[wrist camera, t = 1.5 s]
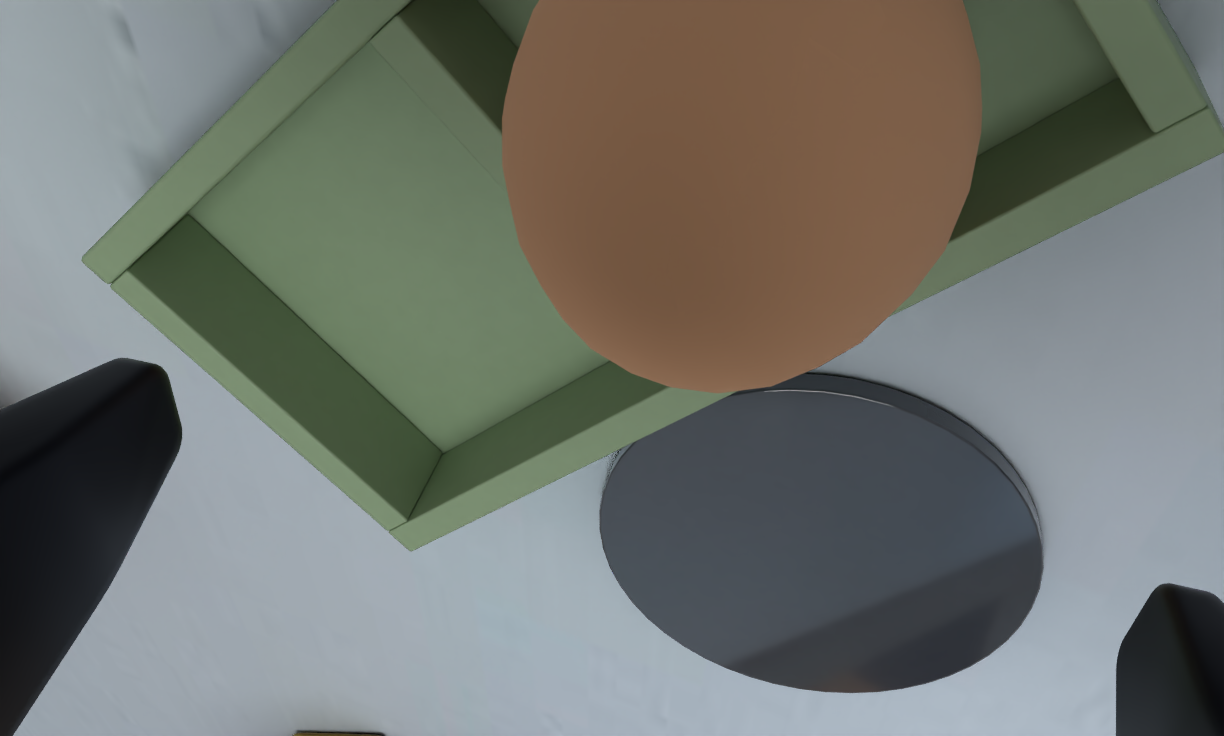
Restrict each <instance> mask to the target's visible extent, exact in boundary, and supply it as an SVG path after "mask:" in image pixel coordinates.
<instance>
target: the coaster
mask: <svg viewBox="0 0 1224 736" xmlns="http://www.w3.org/2000/svg"><path fill="white" fill-rule="evenodd" d="M599 515H600V534H601V539H602V545H603V550H604V552H605V555H606V558H607V561H608V563H609V566H610V568H611V570H612V572H613V574H614V576H615V577H616V579H617V581H618V583H619V585H620V586H621V588H622V589H623V590H624V592H625V593H626V594H627V596H628V597H629V599H630V600H631V601H632V603H633V604H634V605H635V606H636V607H637V608H638V609H639V610H640V611H641V612H642V613H643V614H644V615H645V616H646V617H647V618H648V619H649V620H650V621H651V622H652V623H653V624H655V625H656V626H657V627H658V628H659V629H660V630H662V631H663V632H664V633H665V634H667V635H668V636H670V637H671V638H672V639H674V640H675V641H677V642H678V643H680V644H681V645H682V646H684V647H686V648H688V649H689V650H691V651H693V652H695V653H696V654H698V655H700V656H702V657H703V658H705V659H707V660H710V661H712V662H714V663H716V664H718V665H720V666H723V667H725V668H727V669H730V670H732V671H735V672H738V673H741V674H743V675H746V676H749V677H752V678H755V679H759V680H762V681H766V682H770V683H773V684H778V685H783V686H788V687H793V688H798V689H805V690H813V691H821V692H837V693H866V692H881V691H889V690H897V689H904V688H908V687H913V686H918V685H922V684H926V683H930V682H933V681H936V680H939V679H942V678H945V677H948V676H951V675H953V674H955V673H957V672H959V671H962V670H964V669H966V668H968V667H971V666H972V665H974V664H975V663H977V662H979V661H980V660H982V659H984V658H985V657H987V656H989V655H990V654H991V653H993V652H994V651H995V650H996V649H998V648H999V647H1000V646H1001V645H1003V644H1004V643H1005V642H1006V641H1007V640H1008V639H1009V638H1010V637H1011V636H1012V635H1013V634H1014V633H1015V631H1016V630H1017V629H1018V628H1019V627H1020V626H1021V625H1022V623H1023V621H1024V620H1025V618H1026V617H1027V615H1028V614H1029V612H1030V610H1031V609H1032V607H1033V605H1034V602H1035V599H1036V597H1037V594H1038V592H1039V589H1040V585H1041V579H1042V574H1043V568H1044V567H1043V544H1042V534H1041V528H1040V524H1039V520H1038V515H1037V511H1036V508H1035V506H1034V504H1033V501H1032V499H1031V497H1030V495H1029V492H1028V490H1027V488H1026V486H1025V485H1024V483H1023V482H1022V480H1021V479H1020V477H1019V476H1018V474H1017V473H1016V471H1015V470H1014V468H1013V467H1012V466H1011V465H1010V464H1009V463H1008V461H1007V460H1006V459H1005V458H1004V457H1003V456H1002V455H1001V454H1000V453H999V452H998V450H997V449H996V448H995V447H994V446H993V445H991V444H990V443H989V442H988V441H987V440H986V439H984V438H983V437H982V436H981V435H980V434H978V433H977V432H976V431H975V430H974V429H972V428H971V427H969V426H968V425H966V424H965V423H963V422H962V421H960V420H958V419H957V418H955V417H954V416H952V415H951V414H949V413H948V412H946V411H944V410H942V409H940V408H938V407H935V406H933V405H931V404H929V403H927V402H925V401H923V400H921V399H919V398H917V397H914V396H911V395H908V394H906V393H903V392H900V391H897V390H895V389H892V388H889V387H885V386H881V385H877V384H873V383H869V382H865V381H861V380H857V379H851V378H844V377H837V376H830V375H820V374H800V375H798V376H796V377H793V378H791V379H788V380H786V381H783V382H781V383H778V384H776V385H774V386H771V387H763V388H756V389H748V390H741V391H737V392H735V393H733V394H731V395H729V396H727V397H725V398H723V399H721V400H719V401H717V402H714V403H712V404H710V405H708V406H706V407H704V408H702V409H700V410H698V411H696V412H694V413H692V414H690V415H688V416H686V417H684V418H682V419H680V420H678V421H676V422H674V423H672V424H670V425H668V426H666V427H664V428H662V429H660V430H658V431H655V432H653V433H651V434H649V435H647V436H645V437H643V438H641V439H639V440H637V441H635V442H633V443H631V444H629V445H627V446H625V447H623V448H622V449H621V450H620V452H619V454H618V455H617V457H616V459H615V460H614V463H613V465H612V468H611V471H610V473H609V476H608V478H607V481H606V484H605V487H604V490H603V494H602V499H601V505H600V510H599Z"/></svg>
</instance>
